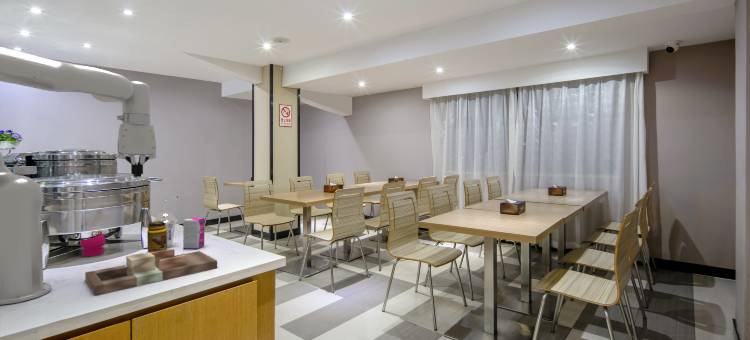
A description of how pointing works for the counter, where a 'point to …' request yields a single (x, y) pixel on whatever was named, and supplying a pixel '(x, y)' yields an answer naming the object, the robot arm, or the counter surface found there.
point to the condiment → (157, 236)
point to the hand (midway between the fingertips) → (137, 176)
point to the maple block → (140, 262)
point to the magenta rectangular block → (93, 245)
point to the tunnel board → (164, 269)
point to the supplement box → (193, 233)
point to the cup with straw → (168, 222)
